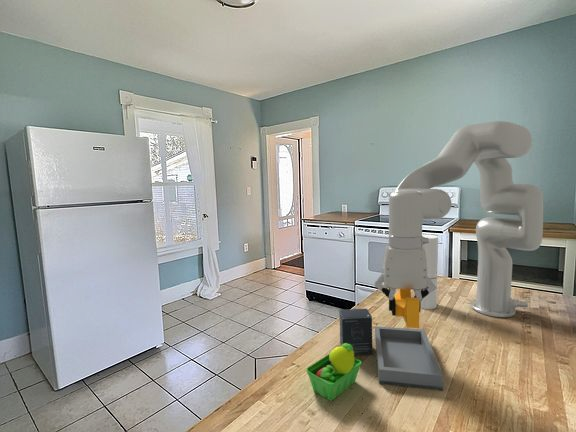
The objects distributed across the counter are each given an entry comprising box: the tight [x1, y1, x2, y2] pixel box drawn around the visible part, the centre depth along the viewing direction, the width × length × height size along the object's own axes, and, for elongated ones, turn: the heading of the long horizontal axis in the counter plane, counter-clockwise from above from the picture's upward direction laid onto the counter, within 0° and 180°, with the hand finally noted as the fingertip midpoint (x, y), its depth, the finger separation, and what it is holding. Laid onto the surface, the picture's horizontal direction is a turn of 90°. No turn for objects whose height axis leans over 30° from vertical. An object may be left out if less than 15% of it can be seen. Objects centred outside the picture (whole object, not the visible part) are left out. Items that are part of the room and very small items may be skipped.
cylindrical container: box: [420, 233, 439, 310], centre depth 109 cm, size 7×7×25 cm
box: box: [339, 308, 374, 356], centre depth 83 cm, size 8×6×11 cm
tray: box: [374, 325, 444, 392], centre depth 78 cm, size 13×20×4 cm, turn 167°
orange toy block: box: [394, 289, 420, 329], centre depth 76 cm, size 12×4×6 cm, turn 169°
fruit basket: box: [305, 343, 362, 402], centre depth 69 cm, size 11×9×11 cm
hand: (404, 313), depth 77 cm, fingers closed on orange toy block, 4 cm apart
